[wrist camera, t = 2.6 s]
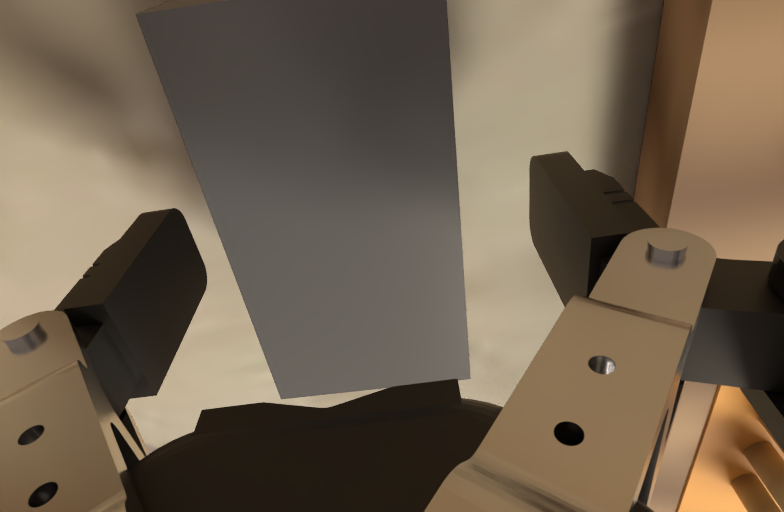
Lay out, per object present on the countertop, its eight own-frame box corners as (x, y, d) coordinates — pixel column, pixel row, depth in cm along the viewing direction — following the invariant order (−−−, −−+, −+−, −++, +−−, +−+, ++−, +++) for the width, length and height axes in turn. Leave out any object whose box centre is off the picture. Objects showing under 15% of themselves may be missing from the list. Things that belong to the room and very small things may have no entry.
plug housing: (221, -21, 12) (135, 14, 8) (419, -52, 11) (444, -34, 7) (305, 277, 16) (280, 399, 12) (446, 260, 16) (470, 378, 12)
